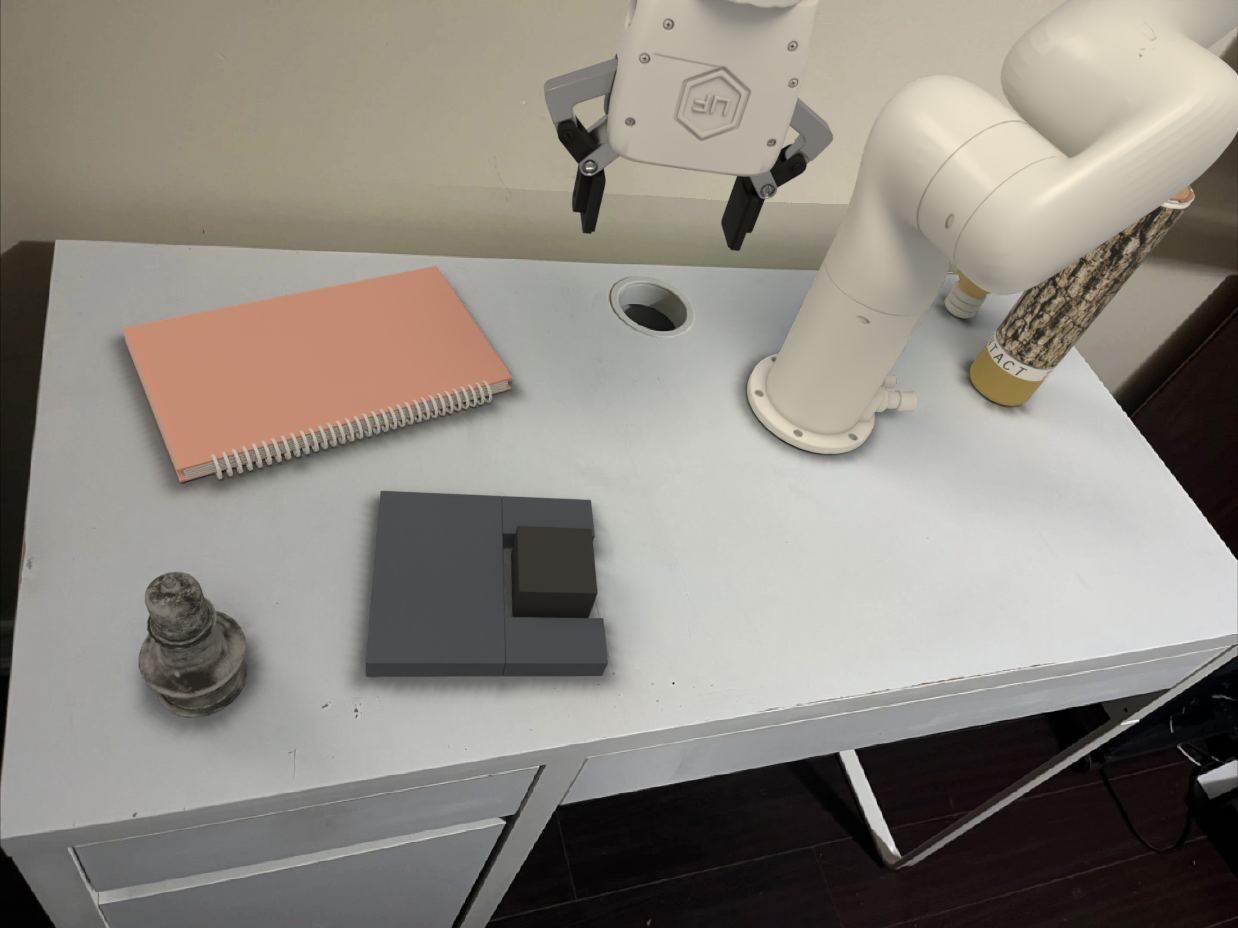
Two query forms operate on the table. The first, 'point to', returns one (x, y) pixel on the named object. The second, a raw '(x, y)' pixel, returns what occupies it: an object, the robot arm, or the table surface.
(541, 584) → the pad piece
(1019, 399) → the paper tube
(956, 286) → the light bulb
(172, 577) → the chess piece
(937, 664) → the table surface
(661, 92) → the robot arm
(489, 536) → the gray notched slab
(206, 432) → the notebook
